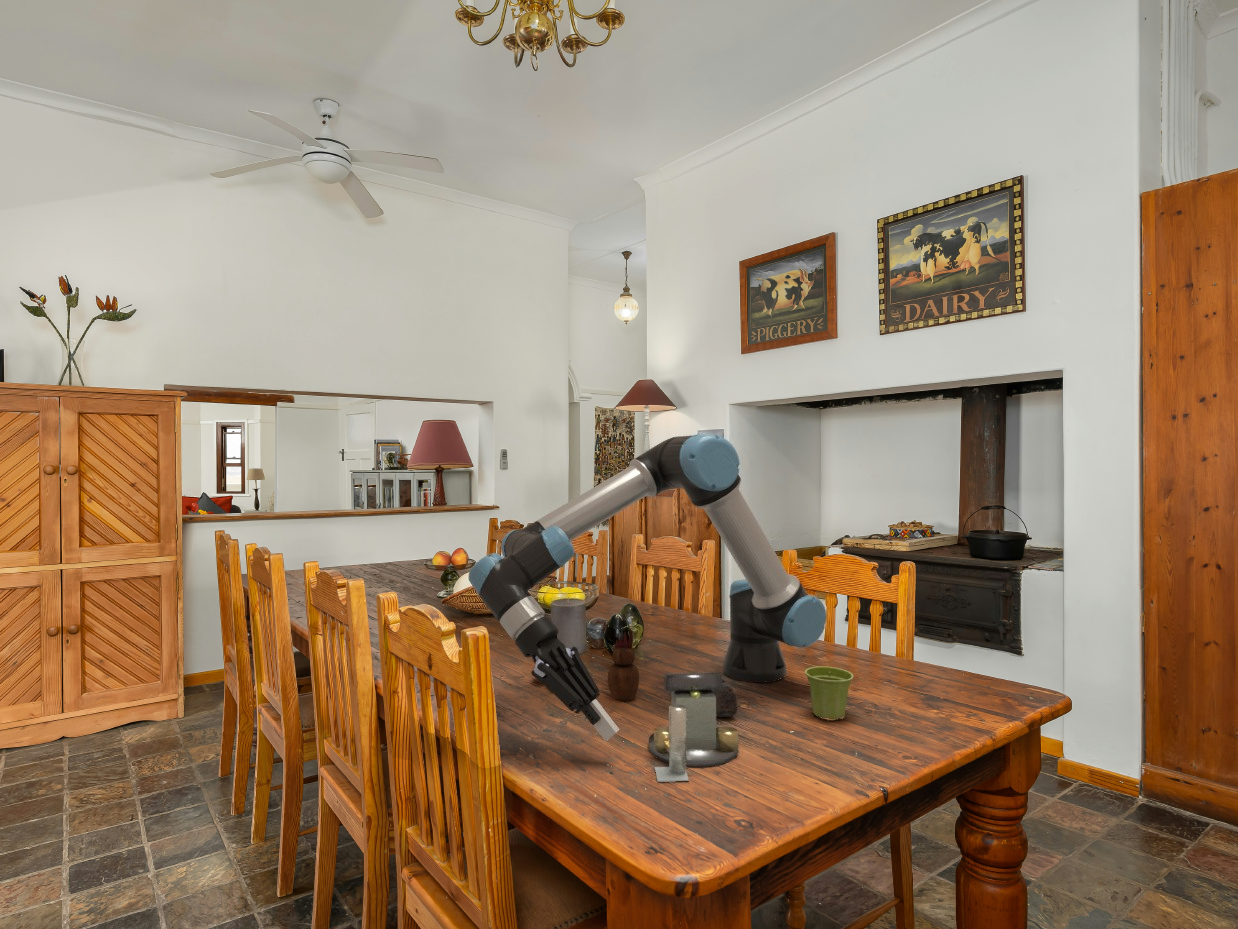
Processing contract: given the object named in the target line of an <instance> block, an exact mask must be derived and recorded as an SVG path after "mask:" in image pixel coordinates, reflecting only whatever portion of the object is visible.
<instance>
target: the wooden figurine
mask: <svg viewBox="0 0 1238 929" xmlns="http://www.w3.org/2000/svg"><path fill="white" fill-rule="evenodd" d="M623 634H624V635H623V639H622V636H619V640H618V639H616V641H615V645H614V647H615V648H613V649H612V650H613V651H612V655H611V656H612V662H613V663H612V664H611V665H610V667H609V669H608V672H607V686H608V689H609V692H610V695H611V696H612V697H613V698H614V699H616V700H618V701H622V700H626V701H630V700H633V699H634V698H635V697H636V696H637V694H638V693H637V692H638V689H639V684H640V672H639V668H638V666H637V665H635V664H633V663H634V662H635V658H636V657H635V650H634V649H633V634H634V633H633V629H631V630H630V633H629V638H627V633H626V631H624V632H623Z"/></svg>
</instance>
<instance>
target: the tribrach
mask: <svg viewBox="0 0 1238 929" xmlns="http://www.w3.org/2000/svg"><path fill="white" fill-rule="evenodd" d="M663 676H664V677H663V678H664V679H663V681H664V692H665V693H670V696H671V697H670V700H671V701H670V702H671V704H670V706H671V705H683V706H685V707H686V768H712V767H717V765H718V766H720V765H721V764H722V765H724V764H727V763H730V762H731V761H733V760H734V759H735V758H736V757H737V755H738V754H739V730H738V729H737V728H736V727H730V726H721V727H719V728H718V727H717V715H716V696H715V695H714V693H713V691H722V678H723V676H722V673H721V672H720V671H718V672H673V673H672V672H671V673H670V672H668V673H664V675H663ZM648 750H649V752H650V753H652V754H651V755H652V756H653V755H654V756H653V757H655V758H656V757H657V758H656V759H658V760H659V759H660V761H661V760H662V761H661V762H664V763H666V762H667V764H669V752H660V751H657V750H655V749H654V732H653V733H652V734H650V736H649V738H648Z"/></svg>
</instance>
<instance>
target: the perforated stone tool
mask: <svg viewBox="0 0 1238 929" xmlns="http://www.w3.org/2000/svg"><path fill="white" fill-rule="evenodd" d="M713 693H714V695H715V696H716V717H719V718H725V717H726V718H732V717H734V716H735V715H736V714H737V712H738V709H739V700H738V695H737V692H736V691H735V689H734V687H733V686H732V685H731V684H730V682H728V681H727V680H726V679H725V678H723V677H722V691H713Z"/></svg>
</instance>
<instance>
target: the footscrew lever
mask: <svg viewBox="0 0 1238 929" xmlns="http://www.w3.org/2000/svg"><path fill="white" fill-rule="evenodd" d="M653 733H654V749H655V750H657V751H660V752H669V763H668V767H669V769H670V770H671V771H674V772H683V771H685V770H686V771H687V767H686V707H685V706H683V705H671V704H670V705H669V706H668V726H658V727H656V728H654V729H653Z"/></svg>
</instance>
